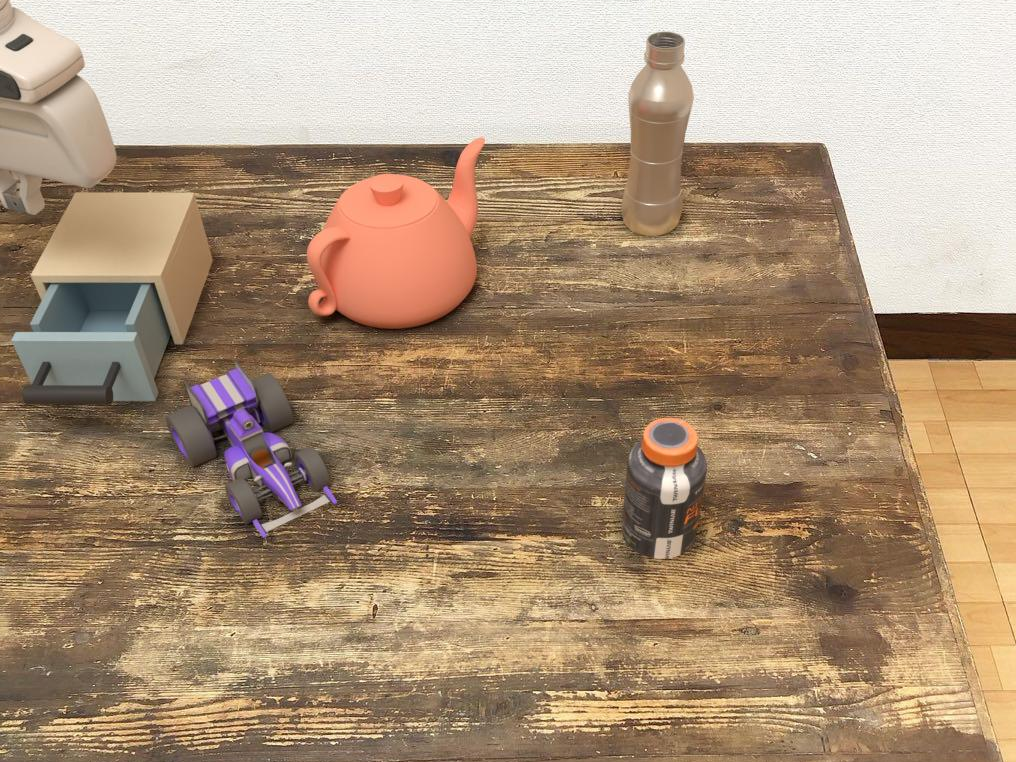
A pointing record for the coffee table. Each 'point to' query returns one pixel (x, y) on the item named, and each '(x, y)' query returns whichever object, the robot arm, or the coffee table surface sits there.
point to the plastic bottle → (657, 137)
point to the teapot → (397, 249)
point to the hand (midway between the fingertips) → (25, 208)
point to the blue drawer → (94, 344)
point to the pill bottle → (664, 490)
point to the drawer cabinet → (132, 248)
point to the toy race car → (248, 443)
